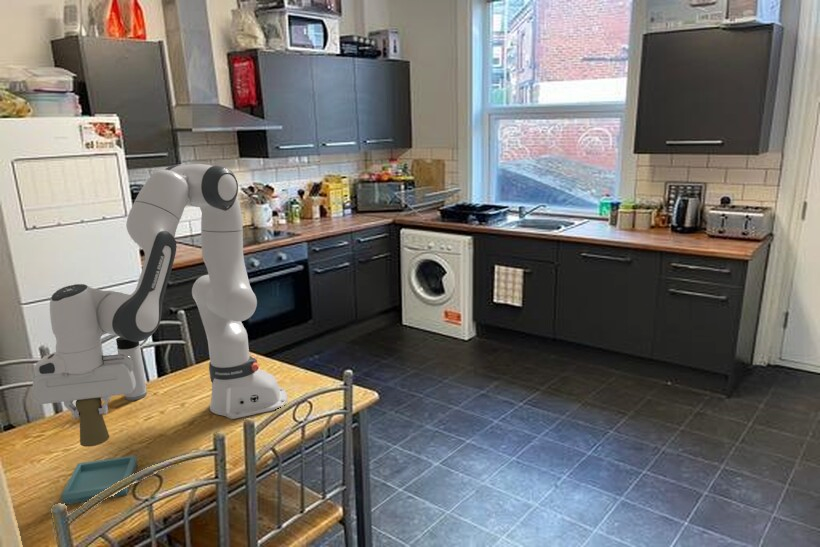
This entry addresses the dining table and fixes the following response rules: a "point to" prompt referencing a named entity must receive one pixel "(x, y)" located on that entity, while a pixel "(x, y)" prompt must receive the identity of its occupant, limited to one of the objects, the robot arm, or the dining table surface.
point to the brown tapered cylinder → (91, 422)
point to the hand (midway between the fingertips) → (90, 415)
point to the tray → (97, 478)
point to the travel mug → (135, 353)
